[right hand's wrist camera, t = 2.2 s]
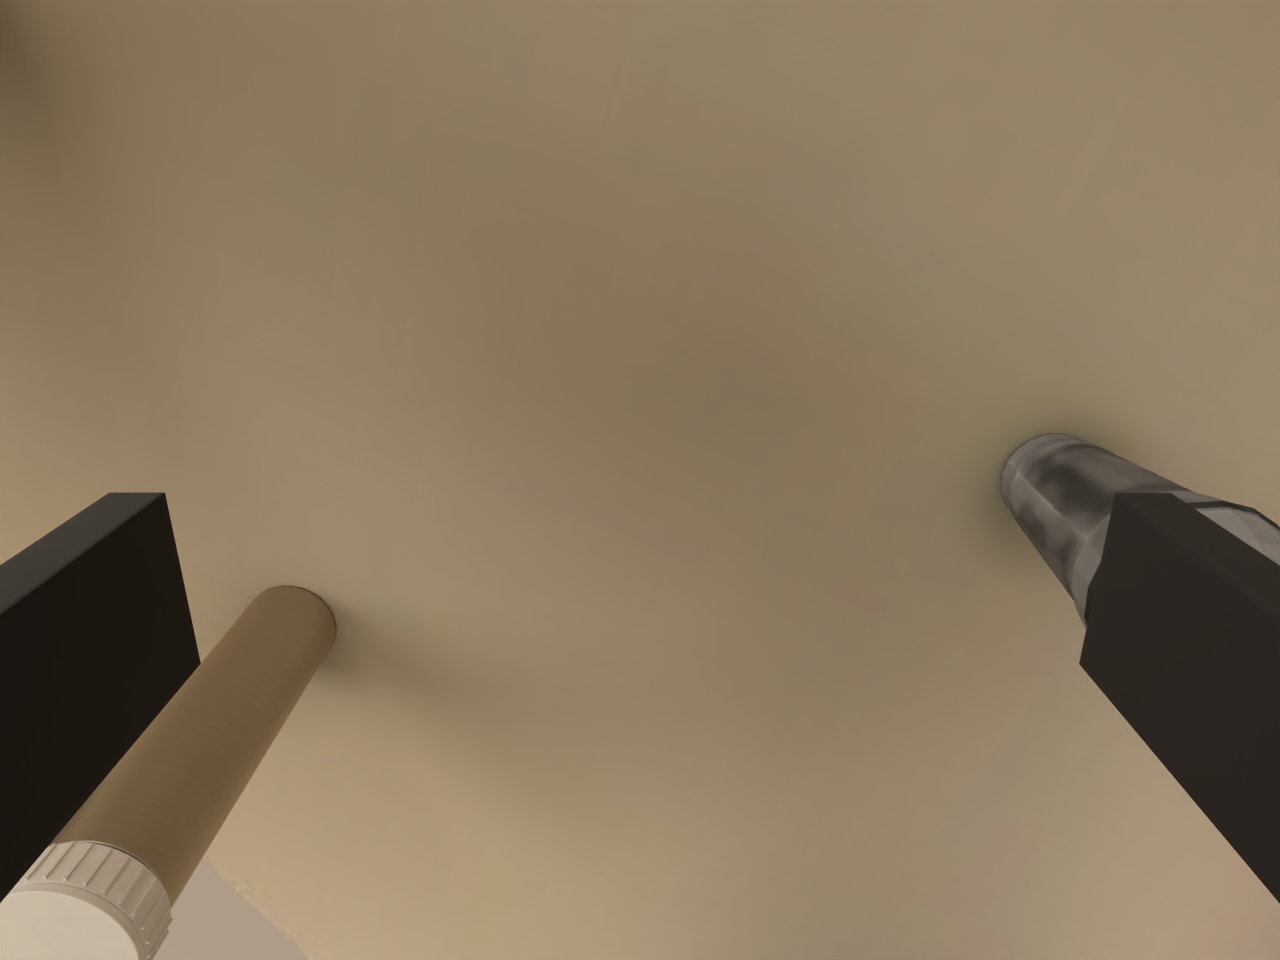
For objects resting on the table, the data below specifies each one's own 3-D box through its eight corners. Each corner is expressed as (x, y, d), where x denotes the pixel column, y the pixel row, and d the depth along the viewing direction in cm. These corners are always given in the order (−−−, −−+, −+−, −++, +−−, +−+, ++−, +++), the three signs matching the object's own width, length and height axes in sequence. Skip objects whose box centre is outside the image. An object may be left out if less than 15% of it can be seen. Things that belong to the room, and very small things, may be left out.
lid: (83, 812, 27) (41, 862, 25) (207, 910, 29) (176, 965, 27) (-20, 889, 28) (-66, 942, 26) (105, 980, 30) (69, 1036, 28)
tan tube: (291, 569, 44) (53, 862, 26) (354, 631, 45) (169, 951, 27) (229, 617, 45) (-41, 932, 27) (293, 676, 46) (75, 1013, 28)
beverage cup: (1006, 573, 43) (1280, 899, 25) (946, 453, 41) (1198, 714, 23) (1148, 503, 42) (1552, 792, 23) (1094, 375, 40) (1493, 584, 21)
